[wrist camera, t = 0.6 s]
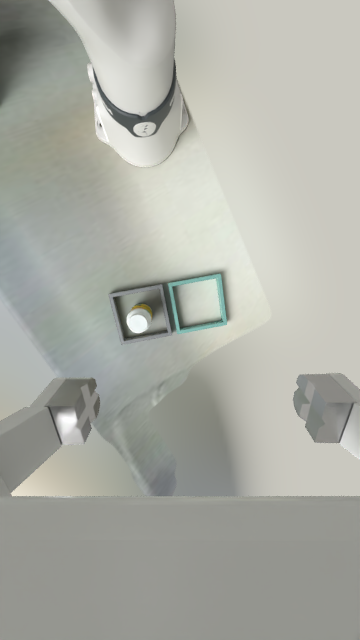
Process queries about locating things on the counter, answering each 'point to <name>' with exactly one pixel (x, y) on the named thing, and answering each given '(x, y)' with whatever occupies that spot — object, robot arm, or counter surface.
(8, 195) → the counter surface
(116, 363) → the counter surface
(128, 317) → the supplement bottle
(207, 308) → the counter surface
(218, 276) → the bin
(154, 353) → the counter surface
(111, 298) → the bin
